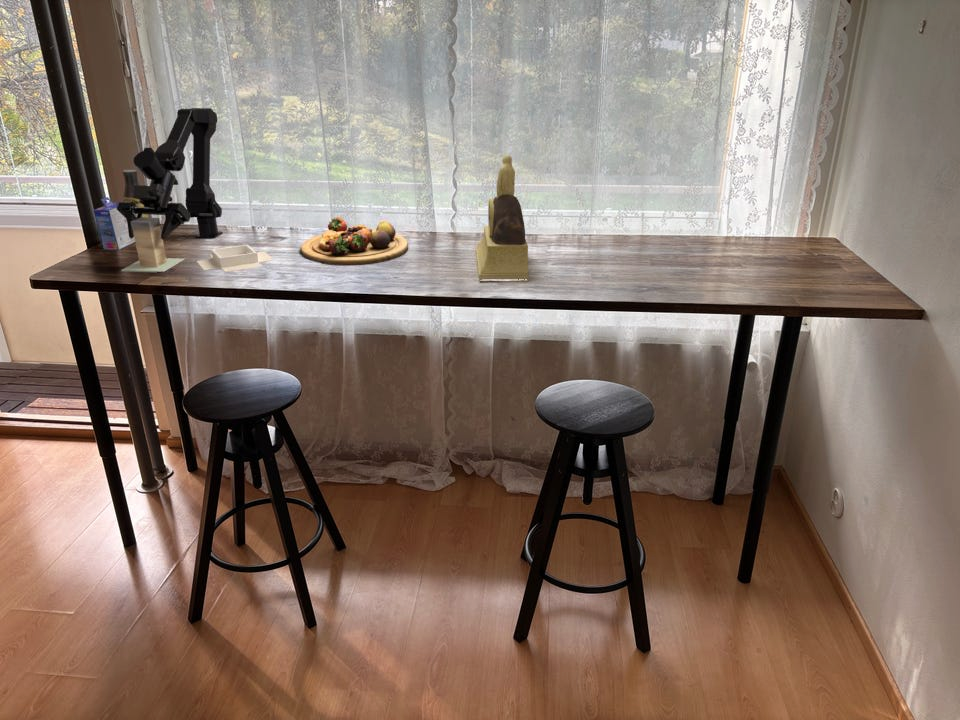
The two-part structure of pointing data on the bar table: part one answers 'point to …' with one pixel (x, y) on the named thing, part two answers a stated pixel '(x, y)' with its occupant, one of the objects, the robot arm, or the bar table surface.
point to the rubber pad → (136, 267)
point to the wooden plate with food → (354, 244)
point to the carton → (234, 258)
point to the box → (149, 241)
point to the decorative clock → (503, 232)
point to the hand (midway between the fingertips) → (146, 238)
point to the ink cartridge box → (112, 226)
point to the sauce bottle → (131, 188)
